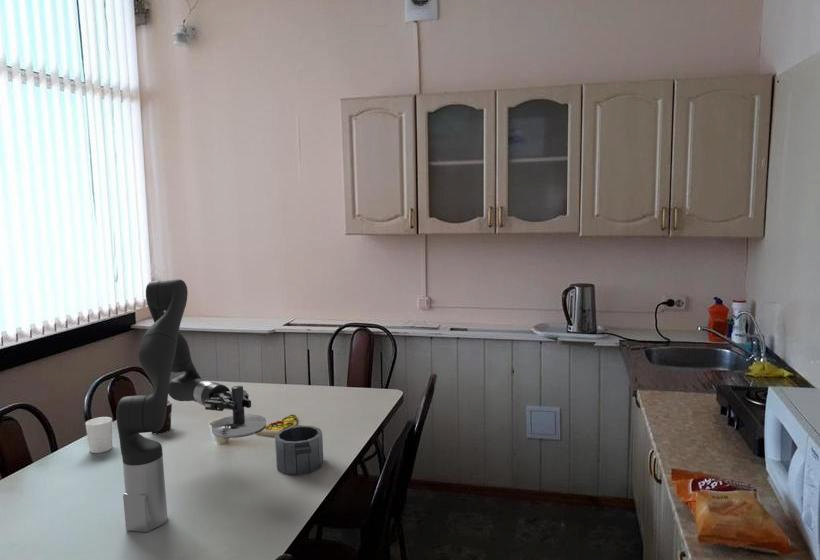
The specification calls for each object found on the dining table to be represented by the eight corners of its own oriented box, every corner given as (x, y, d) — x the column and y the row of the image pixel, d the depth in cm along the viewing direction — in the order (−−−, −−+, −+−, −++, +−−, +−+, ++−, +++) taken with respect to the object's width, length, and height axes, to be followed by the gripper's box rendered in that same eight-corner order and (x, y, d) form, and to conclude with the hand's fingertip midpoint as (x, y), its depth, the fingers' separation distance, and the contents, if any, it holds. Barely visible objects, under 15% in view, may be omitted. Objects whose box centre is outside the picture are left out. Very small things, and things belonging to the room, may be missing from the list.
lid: (255, 438, 160) (253, 395, 159) (202, 437, 162) (200, 395, 160) (273, 419, 175) (271, 380, 174) (224, 418, 176) (222, 380, 175)
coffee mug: (164, 435, 209) (162, 408, 208) (143, 434, 211) (140, 407, 209) (183, 423, 220) (181, 398, 219) (162, 422, 222) (160, 397, 221)
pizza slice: (253, 437, 206) (252, 429, 206) (277, 416, 227) (276, 409, 226) (294, 439, 204) (294, 431, 203) (315, 418, 224) (314, 411, 223)
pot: (328, 474, 175) (327, 442, 173) (280, 482, 170) (279, 449, 169) (317, 449, 193) (315, 420, 192) (273, 455, 189) (272, 426, 188)
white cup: (82, 451, 196) (80, 422, 195) (104, 443, 203) (102, 415, 202) (97, 455, 193) (95, 426, 191) (119, 446, 200) (117, 418, 198)
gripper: (189, 388, 171) (220, 399, 160) (231, 377, 182) (264, 387, 171) (190, 412, 172) (222, 425, 161) (233, 401, 183) (265, 412, 171)
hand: (243, 405), depth 166 cm, fingers closed on lid, 3 cm apart
